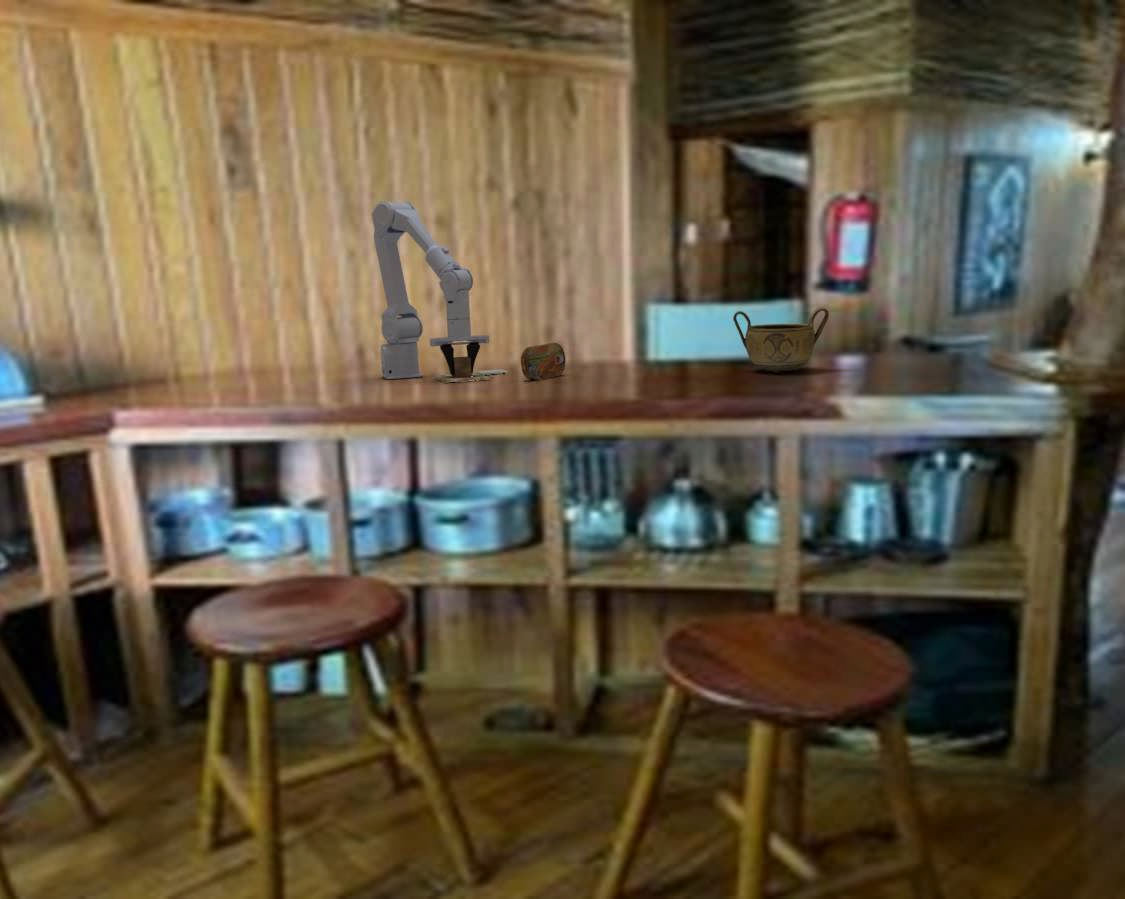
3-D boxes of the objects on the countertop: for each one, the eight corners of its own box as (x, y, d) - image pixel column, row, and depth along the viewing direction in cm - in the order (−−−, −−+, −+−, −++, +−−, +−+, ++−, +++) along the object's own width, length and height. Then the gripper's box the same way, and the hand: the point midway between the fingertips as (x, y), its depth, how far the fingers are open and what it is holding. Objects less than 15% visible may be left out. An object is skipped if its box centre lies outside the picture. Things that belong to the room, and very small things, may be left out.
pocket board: (445, 383, 237) (445, 380, 237) (435, 378, 249) (435, 375, 248) (489, 380, 241) (489, 377, 241) (477, 375, 252) (477, 372, 252)
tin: (529, 382, 235) (527, 346, 234) (519, 381, 237) (517, 346, 236) (567, 375, 247) (566, 341, 245) (557, 374, 249) (556, 341, 247)
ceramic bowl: (825, 366, 244) (825, 305, 241) (830, 374, 228) (831, 309, 225) (733, 368, 248) (733, 308, 245) (732, 376, 232) (732, 311, 229)
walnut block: (455, 381, 242) (454, 358, 241) (452, 379, 246) (451, 357, 245) (471, 379, 243) (470, 357, 242) (467, 378, 247) (466, 356, 246)
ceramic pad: (482, 375, 251) (482, 373, 251) (475, 373, 258) (475, 371, 258) (508, 373, 253) (508, 371, 253) (501, 371, 260) (501, 369, 260)
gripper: (432, 321, 236) (436, 377, 238) (491, 318, 240) (493, 373, 243) (426, 319, 242) (430, 374, 245) (484, 316, 247) (486, 370, 249)
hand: (461, 374), depth 244 cm, fingers closed on walnut block, 4 cm apart
